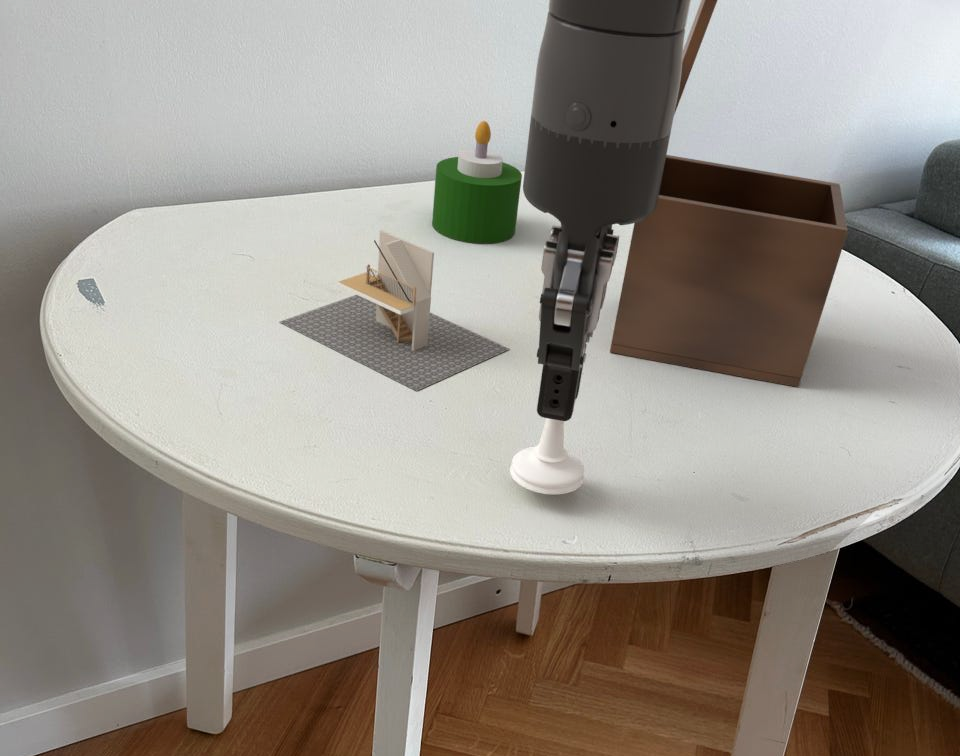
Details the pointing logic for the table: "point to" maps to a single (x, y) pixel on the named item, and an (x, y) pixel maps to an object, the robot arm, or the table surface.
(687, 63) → the lid
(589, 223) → the robot arm
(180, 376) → the table surface
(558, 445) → the chess piece
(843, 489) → the table surface
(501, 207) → the candle
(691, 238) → the toy box
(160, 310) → the table surface
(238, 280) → the table surface
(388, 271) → the architectural model
